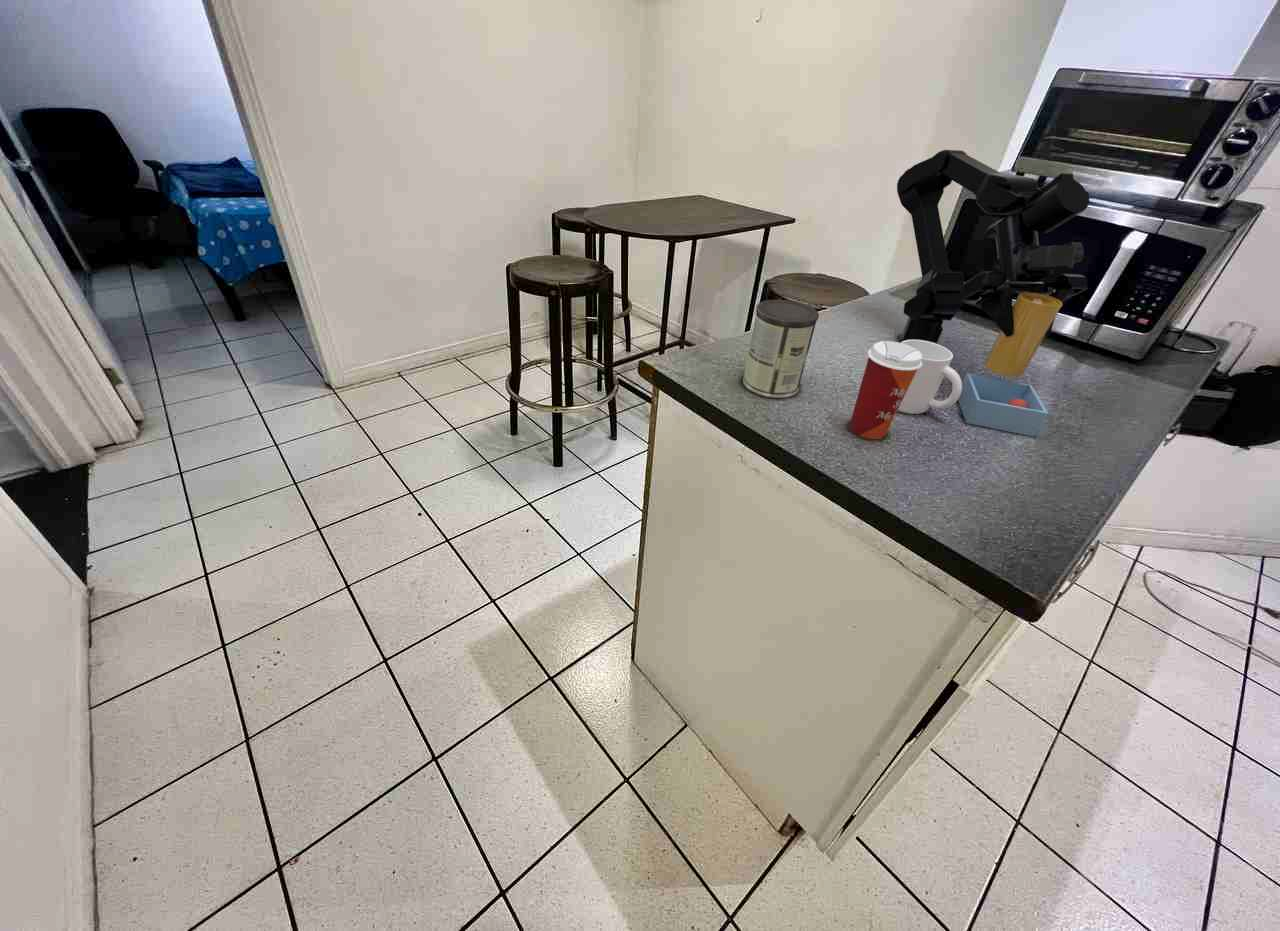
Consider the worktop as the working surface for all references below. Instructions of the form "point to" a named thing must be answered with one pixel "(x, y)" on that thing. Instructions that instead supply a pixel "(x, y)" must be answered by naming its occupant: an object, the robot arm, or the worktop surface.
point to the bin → (1001, 405)
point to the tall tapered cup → (1023, 334)
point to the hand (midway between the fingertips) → (1027, 336)
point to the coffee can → (779, 347)
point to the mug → (930, 379)
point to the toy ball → (1018, 403)
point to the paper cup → (883, 387)
